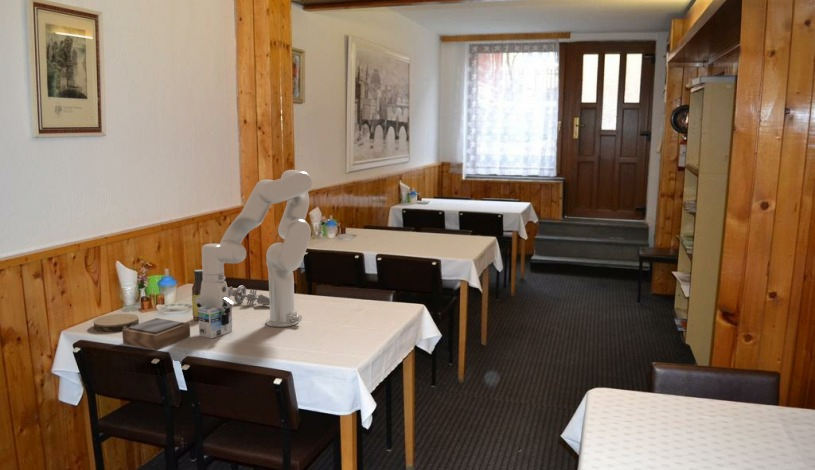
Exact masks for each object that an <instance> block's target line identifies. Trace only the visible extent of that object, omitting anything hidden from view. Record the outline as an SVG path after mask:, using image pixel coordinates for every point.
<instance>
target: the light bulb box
mask: <svg viewBox="0 0 815 470" xmlns="http://www.w3.org/2000/svg"><path fill="white" fill-rule="evenodd" d="M224 310H225V309H224ZM232 310H233V309H232ZM232 310H231V312H230V313H229V324H226V325H224V326H223V325H222V319H221V315H223V314H222V312H221V311H220V309H217V308H213V307H207V306H203V307H199V308H198V314H199V321H198V329H199V331H198V333H199V334H198V335H199V336H200V337H204V338H208V339H213V338H217V337H220V336H224V335H227V334H229V333H232V332H233V316H232V315H233V311H232Z"/></svg>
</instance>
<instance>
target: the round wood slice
mask: <svg viewBox="0 0 815 470" xmlns="http://www.w3.org/2000/svg"><path fill="white" fill-rule="evenodd" d="M137 324H140V322H139V315H137V314H132V313H114V314H113V313H112V314H109V315H103V316H100V317H98V318H96V319H94V320H93V330H94V331H96V332H99V333H117V332H118V333H119V332H122V330H123V329H126V328H129V327H131V326H134V325H137Z"/></svg>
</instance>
